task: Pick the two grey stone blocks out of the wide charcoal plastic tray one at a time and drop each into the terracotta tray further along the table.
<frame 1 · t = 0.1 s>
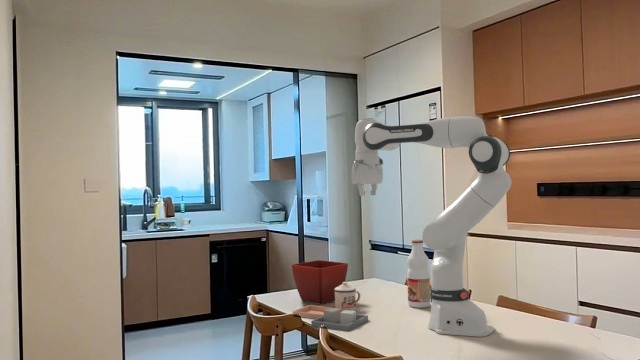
hand: (367, 195, 204), 48 cm above the table, tool pointing down, fingers open, 8 cm apart
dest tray: (317, 315, 209), on the table
stone a: (348, 324, 193), point 1 cm above the table, touching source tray
teacup with lid: (348, 310, 219), on the table
plant pot: (320, 301, 238), on the table
stone b: (332, 321, 197), point 1 cm above the table, touching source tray
fruit juice: (419, 306, 222), on the table
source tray: (340, 324, 195), on the table
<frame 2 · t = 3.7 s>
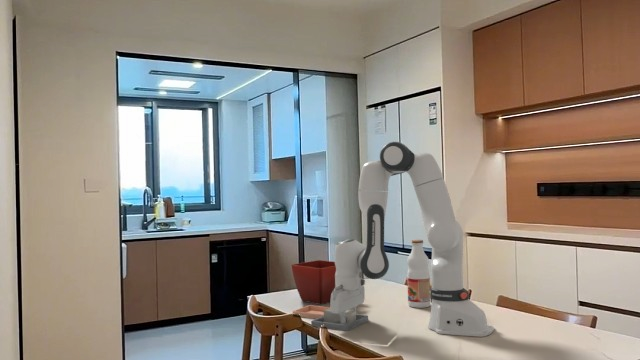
hand: (348, 320, 193), 2 cm above the table, tool pointing down, fingers closed on stone a, 5 cm apart
stone a: (348, 324, 193), point 1 cm above the table, touching gripper, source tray
everything else where it was.
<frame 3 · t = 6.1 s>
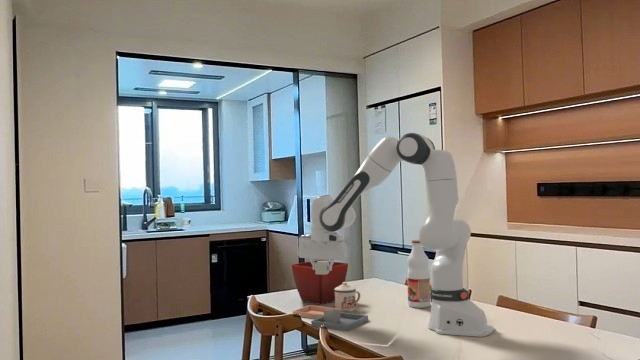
hand: (322, 270, 209), 18 cm above the table, tool pointing down, fingers closed on stone a, 5 cm apart
stone a: (322, 273, 209), point 17 cm above the table, touching gripper
everything else where it was.
when the fingers open (4 cm above the table, at t = 8.3 s): stone a stays where it is, resting on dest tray.
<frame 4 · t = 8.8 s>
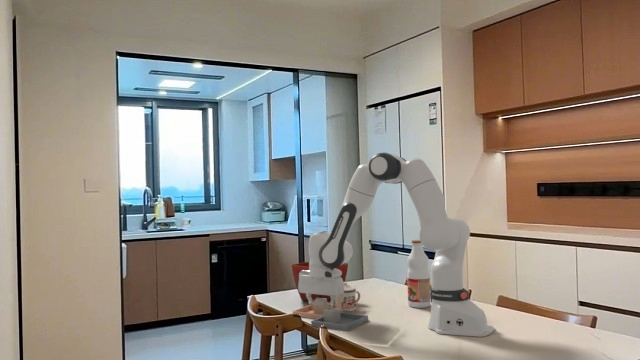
hand: (321, 305, 212), 4 cm above the table, tool pointing down, fingers open, 8 cm apart
stone a: (321, 310, 212), point 2 cm above the table, tilted 24°, touching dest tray
everything else where it was.
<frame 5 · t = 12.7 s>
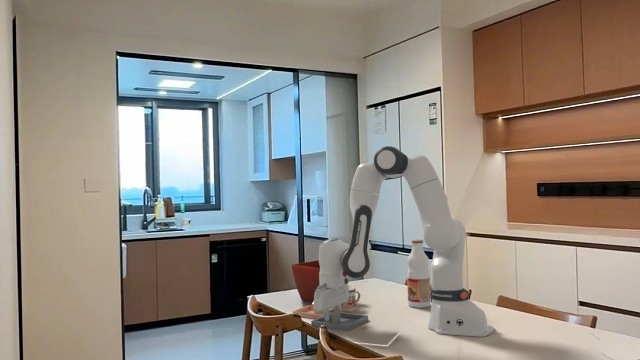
hand: (332, 318, 197), 2 cm above the table, tool pointing down, fingers closed on stone b, 5 cm apart
stone b: (332, 321, 197), point 1 cm above the table, touching gripper, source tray
everything else where it was.
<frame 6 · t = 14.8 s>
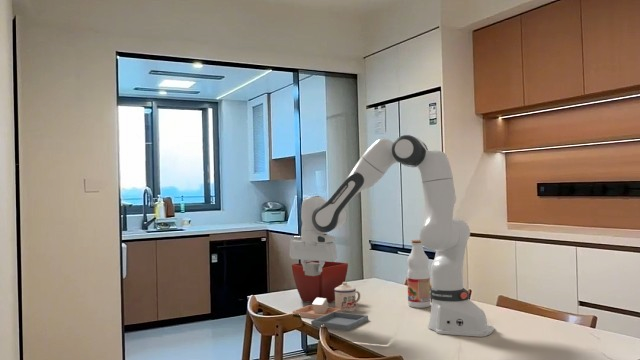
hand: (312, 271, 207), 18 cm above the table, tool pointing down, fingers closed on stone b, 5 cm apart
stone b: (312, 274, 207), point 17 cm above the table, touching gripper
everything else where it was.
when the fingers open (4 cm above the table, at t = 16.9 s): stone b moves 1 cm and tips over, resting on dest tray, stone a.
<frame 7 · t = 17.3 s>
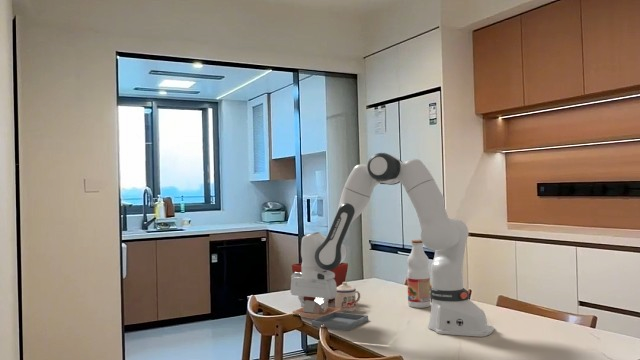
hand: (313, 308, 207), 4 cm above the table, tool pointing down, fingers open, 8 cm apart
stone a: (321, 310, 212), point 2 cm above the table, tilted 21°, touching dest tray, stone b
stone b: (313, 309, 208), point 3 cm above the table, tilted 61°, touching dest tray, stone a
everything else where it was.
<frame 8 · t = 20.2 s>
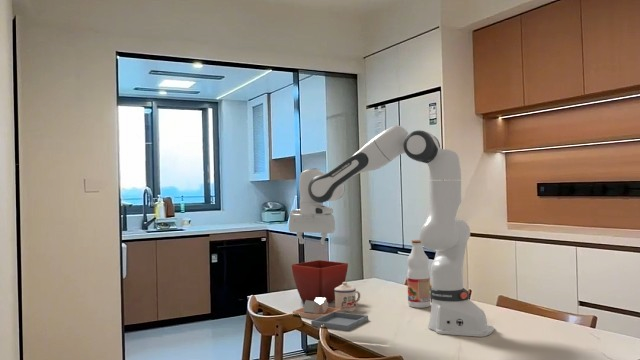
hand: (311, 244, 207), 29 cm above the table, tool pointing down, fingers open, 8 cm apart
nothing on the table moved.
at the end: stone a inside the target area on the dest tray (3.3 cm from its centre), point 1.5 cm above the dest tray's base; stone b inside the target area on the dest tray (1.7 cm from its centre), point 2.8 cm above the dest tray's base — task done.
